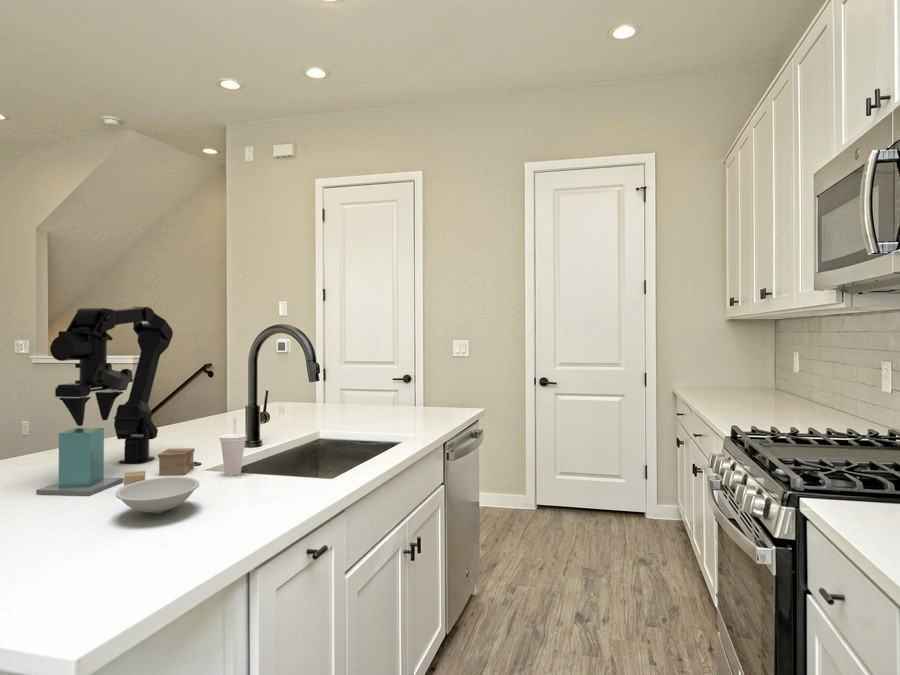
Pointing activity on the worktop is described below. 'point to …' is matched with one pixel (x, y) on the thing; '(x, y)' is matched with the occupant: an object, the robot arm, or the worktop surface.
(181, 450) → the walnut box
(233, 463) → the smoothie
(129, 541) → the worktop surface
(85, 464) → the tall teal box
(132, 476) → the block
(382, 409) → the worktop surface
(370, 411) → the worktop surface
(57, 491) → the plate
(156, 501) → the dish
